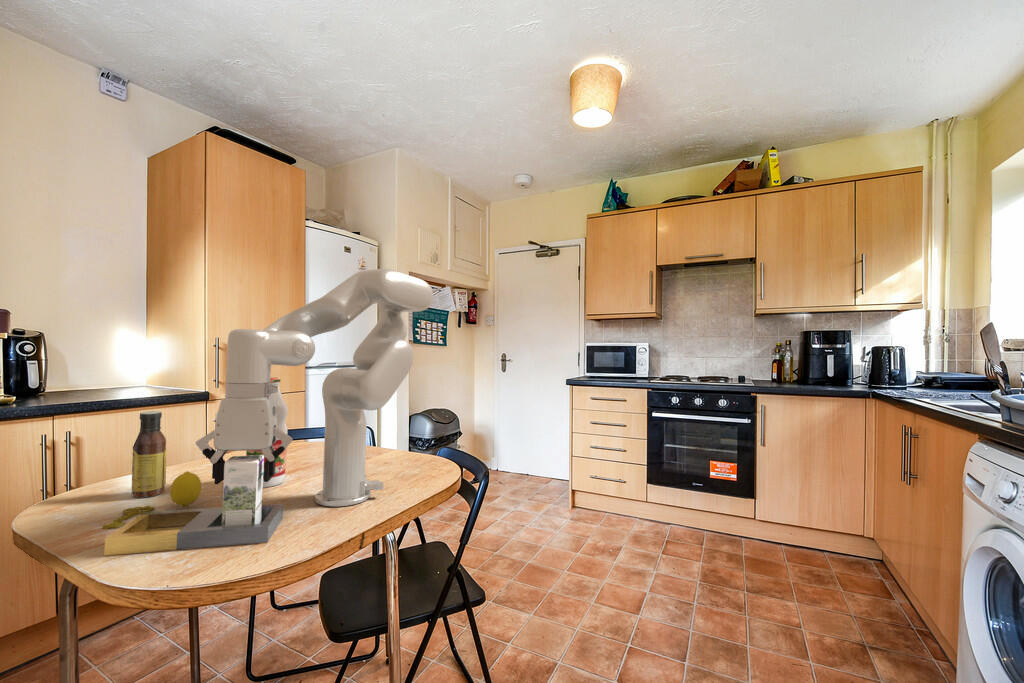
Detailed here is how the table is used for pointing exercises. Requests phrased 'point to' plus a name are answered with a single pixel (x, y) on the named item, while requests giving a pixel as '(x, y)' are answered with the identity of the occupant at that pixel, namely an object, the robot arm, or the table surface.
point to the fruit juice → (281, 425)
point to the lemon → (185, 489)
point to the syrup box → (242, 490)
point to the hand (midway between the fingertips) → (243, 480)
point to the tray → (189, 531)
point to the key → (127, 516)
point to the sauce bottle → (149, 457)
